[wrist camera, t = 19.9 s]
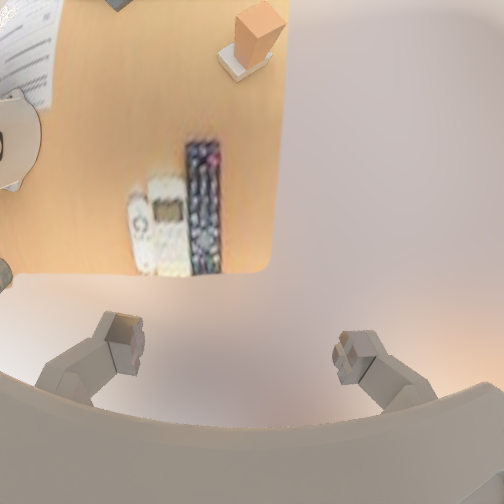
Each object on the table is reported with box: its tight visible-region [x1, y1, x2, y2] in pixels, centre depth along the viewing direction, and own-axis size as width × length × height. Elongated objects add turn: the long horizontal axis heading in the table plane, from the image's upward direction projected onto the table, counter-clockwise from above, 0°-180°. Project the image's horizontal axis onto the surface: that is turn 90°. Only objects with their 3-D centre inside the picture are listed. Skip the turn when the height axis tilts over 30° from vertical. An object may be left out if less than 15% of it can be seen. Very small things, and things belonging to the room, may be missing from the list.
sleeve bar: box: [217, 1, 286, 83], centre depth 22 cm, size 20×5×4 cm
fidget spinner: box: [0, 6, 17, 31], centre depth 16 cm, size 7×6×1 cm
